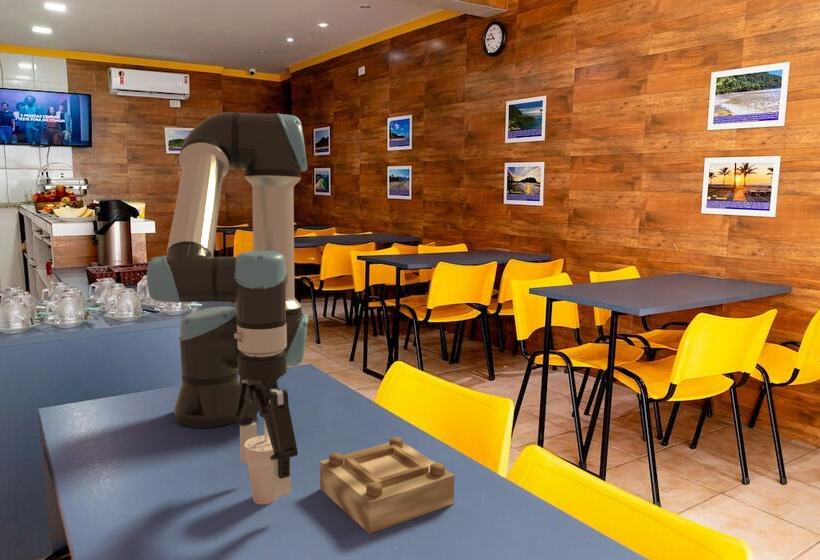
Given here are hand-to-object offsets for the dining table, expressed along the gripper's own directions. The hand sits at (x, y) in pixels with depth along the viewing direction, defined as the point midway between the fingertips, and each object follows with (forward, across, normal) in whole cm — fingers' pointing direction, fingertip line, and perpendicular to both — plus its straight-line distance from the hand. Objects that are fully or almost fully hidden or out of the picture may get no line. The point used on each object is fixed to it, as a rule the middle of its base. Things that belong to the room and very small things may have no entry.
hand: (264, 477), depth 101 cm
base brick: (+4, +10, +17) cm, 20 cm away
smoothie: (+4, 0, 0) cm, 4 cm away
